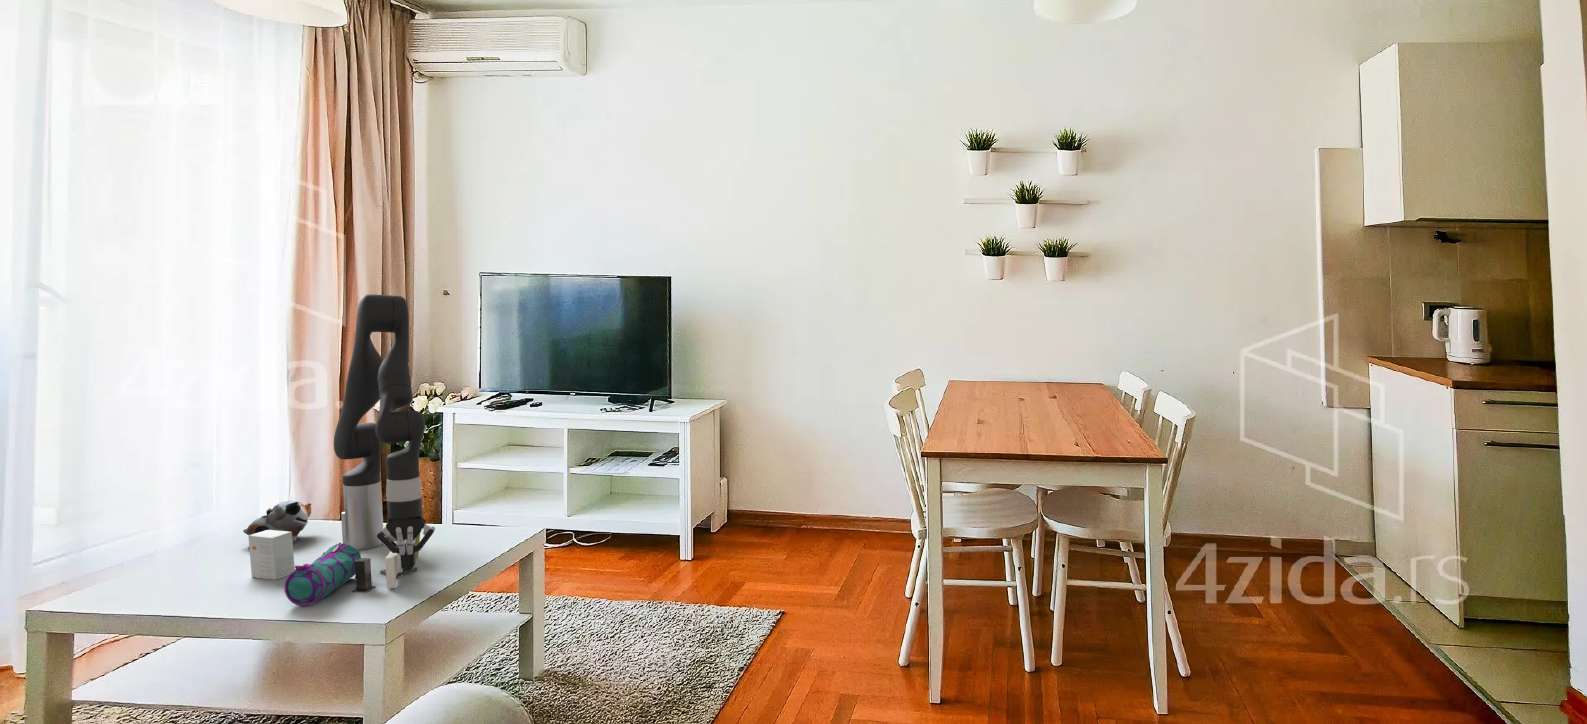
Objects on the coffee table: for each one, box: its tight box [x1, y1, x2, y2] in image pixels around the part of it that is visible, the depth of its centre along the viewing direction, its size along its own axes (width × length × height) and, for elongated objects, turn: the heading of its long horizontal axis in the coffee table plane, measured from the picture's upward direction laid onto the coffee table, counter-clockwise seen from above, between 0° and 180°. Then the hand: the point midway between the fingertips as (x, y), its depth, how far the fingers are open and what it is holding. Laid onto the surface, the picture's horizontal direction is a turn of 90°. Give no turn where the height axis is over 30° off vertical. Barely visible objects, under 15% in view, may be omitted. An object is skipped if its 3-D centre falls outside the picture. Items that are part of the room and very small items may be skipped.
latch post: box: [351, 557, 377, 593], centre depth 208 cm, size 4×4×7 cm
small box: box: [248, 530, 296, 581], centre depth 219 cm, size 8×6×10 cm
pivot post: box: [379, 532, 419, 578], centre depth 220 cm, size 6×6×11 cm
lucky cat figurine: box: [242, 500, 312, 544], centre depth 249 cm, size 15×12×14 cm
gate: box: [384, 541, 402, 589], centre depth 213 cm, size 11×2×8 cm, turn 17°
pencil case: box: [283, 542, 362, 607], centre depth 206 cm, size 21×9×10 cm, turn 5°
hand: (408, 569), depth 211 cm, fingers closed
